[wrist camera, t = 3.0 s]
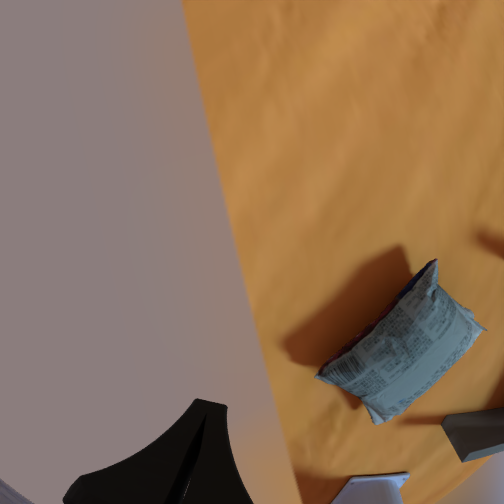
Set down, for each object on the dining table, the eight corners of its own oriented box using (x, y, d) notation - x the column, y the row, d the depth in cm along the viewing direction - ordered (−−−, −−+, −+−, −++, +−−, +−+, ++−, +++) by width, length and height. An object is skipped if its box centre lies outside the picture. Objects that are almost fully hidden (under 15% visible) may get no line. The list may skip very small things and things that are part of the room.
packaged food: (470, 318, 19) (501, 343, 15) (370, 411, 22) (383, 449, 17) (419, 248, 19) (454, 264, 14) (305, 360, 21) (310, 400, 16)
